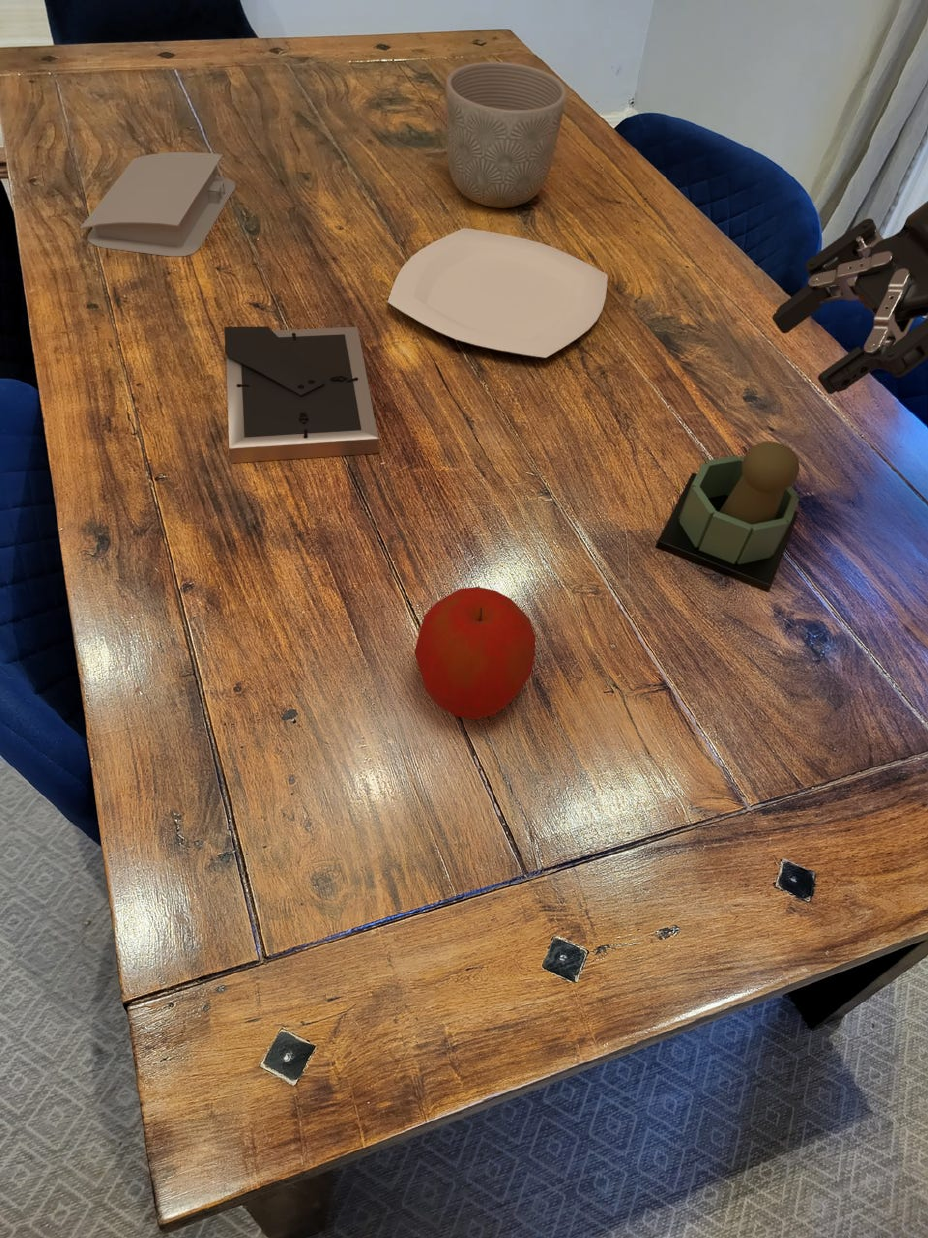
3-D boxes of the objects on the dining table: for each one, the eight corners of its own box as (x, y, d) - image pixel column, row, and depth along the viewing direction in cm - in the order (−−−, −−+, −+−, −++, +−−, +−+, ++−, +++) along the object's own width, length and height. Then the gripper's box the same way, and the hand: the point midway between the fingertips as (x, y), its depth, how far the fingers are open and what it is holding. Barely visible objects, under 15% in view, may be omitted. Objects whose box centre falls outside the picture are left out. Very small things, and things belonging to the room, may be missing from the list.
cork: (707, 546, 90) (741, 465, 81) (714, 506, 93) (748, 425, 85) (766, 561, 89) (807, 481, 80) (770, 521, 92) (810, 441, 84)
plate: (454, 227, 127) (455, 214, 125) (628, 284, 121) (631, 270, 119) (360, 317, 111) (359, 304, 110) (554, 387, 105) (557, 374, 104)
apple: (517, 747, 75) (536, 670, 65) (402, 724, 75) (404, 645, 66) (532, 653, 81) (551, 570, 72) (425, 632, 81) (431, 548, 72)
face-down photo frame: (227, 347, 106) (231, 463, 93) (224, 326, 103) (227, 442, 91) (358, 341, 108) (378, 453, 96) (357, 320, 106) (378, 433, 94)
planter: (417, 186, 134) (421, 76, 122) (497, 157, 141) (507, 51, 130) (494, 233, 127) (506, 122, 115) (573, 200, 134) (592, 93, 123)
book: (240, 179, 131) (236, 152, 128) (192, 259, 117) (187, 231, 114) (139, 166, 131) (133, 138, 128) (79, 244, 117) (71, 215, 114)
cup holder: (795, 518, 94) (817, 477, 90) (768, 592, 88) (789, 552, 83) (690, 478, 97) (706, 436, 92) (655, 547, 90) (670, 505, 86)
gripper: (925, 138, 69) (745, 282, 75) (1037, 231, 60) (823, 383, 67) (949, 203, 74) (779, 332, 81) (1055, 296, 65) (855, 431, 72)
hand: (799, 355), depth 74 cm, fingers open, 8 cm apart
